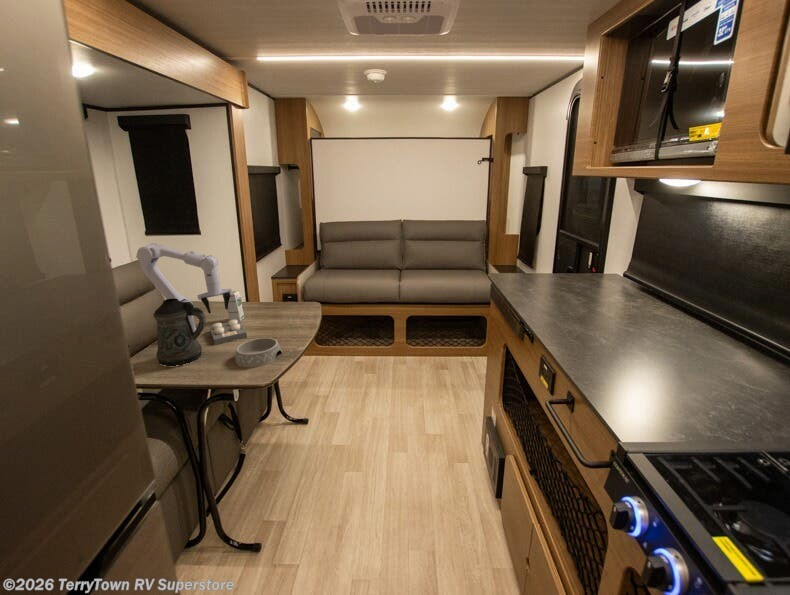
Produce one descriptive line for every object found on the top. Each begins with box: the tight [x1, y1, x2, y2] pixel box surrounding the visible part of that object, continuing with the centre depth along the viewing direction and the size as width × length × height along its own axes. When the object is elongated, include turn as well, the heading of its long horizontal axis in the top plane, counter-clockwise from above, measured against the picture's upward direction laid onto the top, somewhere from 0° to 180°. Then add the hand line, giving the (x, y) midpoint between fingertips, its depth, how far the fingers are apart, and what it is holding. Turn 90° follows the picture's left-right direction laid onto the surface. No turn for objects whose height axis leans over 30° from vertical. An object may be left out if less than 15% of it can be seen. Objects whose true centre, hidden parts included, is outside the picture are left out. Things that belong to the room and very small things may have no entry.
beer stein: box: [153, 298, 207, 366], centre depth 163 cm, size 16×19×25 cm
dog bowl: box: [234, 337, 283, 368], centre depth 163 cm, size 17×18×5 cm
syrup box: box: [227, 290, 245, 322], centre depth 205 cm, size 6×6×14 cm
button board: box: [209, 320, 248, 345], centre depth 188 cm, size 14×19×3 cm
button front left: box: [214, 327, 225, 335], centre depth 184 cm, size 4×4×3 cm
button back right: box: [227, 319, 238, 327], centre depth 193 cm, size 4×4×3 cm
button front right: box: [231, 324, 241, 331], centre depth 187 cm, size 4×4×3 cm
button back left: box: [211, 322, 223, 330], centre depth 190 cm, size 4×4×3 cm
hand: (218, 310), depth 189 cm, fingers open, 7 cm apart
